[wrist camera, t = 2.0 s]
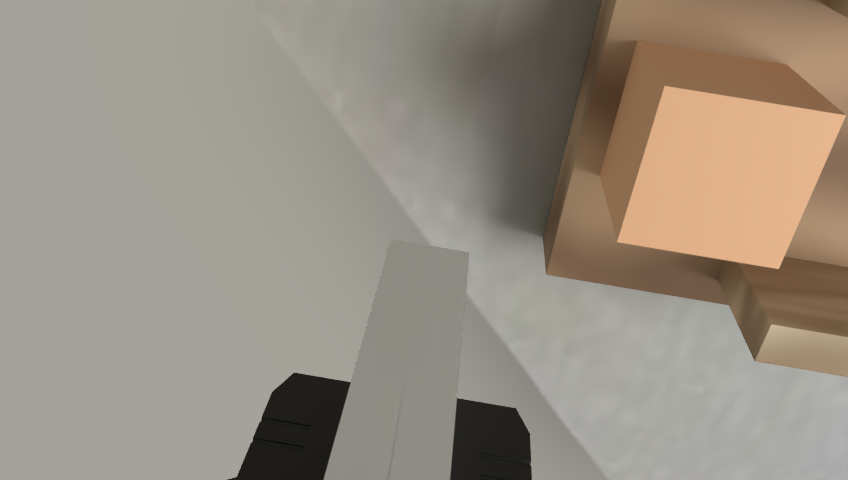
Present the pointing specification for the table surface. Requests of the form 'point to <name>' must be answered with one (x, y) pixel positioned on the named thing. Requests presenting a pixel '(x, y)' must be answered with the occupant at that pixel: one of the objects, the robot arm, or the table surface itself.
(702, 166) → the block
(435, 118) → the table surface
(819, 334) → the deck
